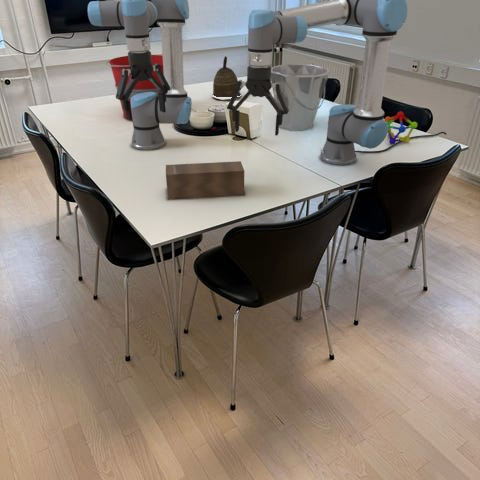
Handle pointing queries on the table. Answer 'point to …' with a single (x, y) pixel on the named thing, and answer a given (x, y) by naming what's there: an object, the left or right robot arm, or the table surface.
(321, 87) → the bucket
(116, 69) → the bucket
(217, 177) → the box
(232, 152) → the table surface
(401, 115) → the educational toy
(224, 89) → the bell
